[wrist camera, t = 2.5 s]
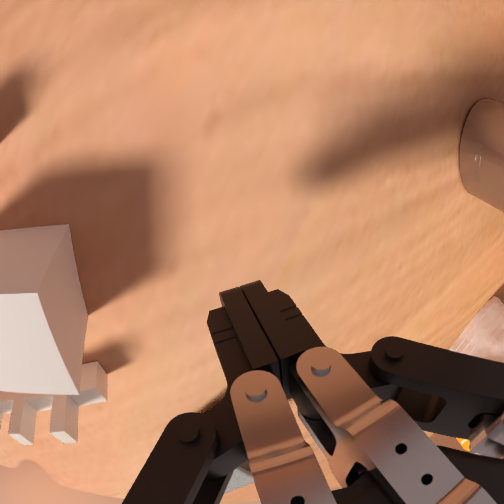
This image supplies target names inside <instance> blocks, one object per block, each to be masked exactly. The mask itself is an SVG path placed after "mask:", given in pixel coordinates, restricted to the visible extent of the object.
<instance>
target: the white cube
mask: <svg viewBox="0 0 504 504" xmlns="http://www.w3.org/2000/svg"><path fill="white" fill-rule="evenodd" d="M87 320H88V313H87V309H86V305H85V302H84V298H83V293H82V289H81V285H80V281H79V276H78V271H77V266H76V261H75V256H74V251H73V245H72V239H71V233H70V227H69V224H64V225H52V226H41V227H30V228H19V229H10V230H0V391H5V392H17V393H32V394H57V395H79V393H80V379H81V368H82V358H83V349H84V341H85V334H86V327H87Z"/></svg>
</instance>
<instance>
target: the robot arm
mask: <svg viewBox="0 0 504 504" xmlns="http://www.w3.org/2000/svg"><path fill="white" fill-rule="evenodd" d="M459 165H460V174H461V179H462V182H463V185H464V187H465V189H466V190H467V191H468V193H470V194H472V195H473V196H475V197H477V198H479V199H481V200H483V201H485V202H486V203H488V204H490V205H492V206H494V207H495V208H497V209H499V210H501V211H502V212H504V103H502V102H498V101H494V100H490V99H482V100H480V101H478V102H477V103H476V104H475V105H474V107H473V108H472V109H471V111H470V113H469V115H468V117H467V119H466V122H465V125H464V128H463V133H462V137H461V144H460V154H459ZM219 295H220V300H221V304H222V307H221V308H217V309H214V310H211V311H209V315H208V320H207V324H208V327H209V331H210V334H211V337H212V340H213V343H214V346H215V349H216V352H217V355H218V358H219V360H220V363H221V366H222V369H223V372H224V374H225V377H226V380H227V385H228V386H227V391H226V394H225V396H224V398H223V399H222V401H221V402H220V403H219V404H218V405H216V406H215V407H214V408H212V409H211V410H209V411H207V412H206V413H204V414H203V415H202V414H199V413H193V412H190V413H183V414H180V415H178V416H176V417H175V418H173V419H172V420H171V421H170V422H169V423H168V425H167V426H166V428H165V430H164V431H163V433H162V435H161V437H160V438H159V440H158V442H157V444H156V445H155V447H154V449H153V451H152V452H151V454H150V456H149V458H148V459H147V461H146V463H145V464H144V466H143V468H142V470H141V471H140V473H139V475H138V477H137V478H136V480H135V482H134V484H133V485H132V487H131V489H130V490H129V492H128V494H127V496H126V497H125V499H124V501H123V502H122V504H219V503H220V501H221V499H222V496H223V494H224V492H225V490H226V488H227V485H228V483H229V481H230V479H231V476H232V474H233V472H234V470H235V469H236V468H237V467H239V466H240V465H242V464H243V463H245V462H246V461H247V460H249V466H250V469H251V473H252V476H253V479H254V482H255V486H256V489H257V492H258V495H259V498H260V501H261V503H262V504H504V363H502V362H498V361H493V360H489V359H484V358H480V357H476V356H471V355H467V354H463V353H459V352H454V351H450V350H446V349H442V348H438V347H434V346H430V345H426V344H422V343H419V342H415V341H411V340H407V339H403V338H399V337H393V336H391V337H385V338H382V339H380V340H378V341H377V342H376V343H375V344H374V346H373V347H372V351H367V352H361V353H355V354H341V353H339V352H337V351H336V350H334V349H332V348H328V347H326V346H325V345H324V344H323V342H322V341H321V340H320V338H319V337H318V335H317V334H316V333H315V331H314V330H313V328H312V327H311V326H310V324H309V323H308V321H307V320H306V319H305V317H304V316H303V315H302V313H301V312H300V310H299V309H298V307H296V305H295V303H294V302H293V300H292V299H291V298H290V296H289V295H287V294H285V293H284V292H282V291H280V290H278V289H277V290H274V291H271V292H267V290H266V288H265V287H264V285H263V284H262V282H261V281H260V280H258V281H255V282H252V283H249V284H245V285H242V286H240V287H236V288H233V289H229V290H226V291H223V292H220V293H219ZM290 398H293V400H294V401H295V403H296V405H297V409H298V416H299V418H300V419H301V421H302V422H303V424H304V425H305V427H306V428H307V430H308V431H309V433H310V434H311V436H312V437H313V439H314V440H315V442H316V443H317V445H318V446H319V448H320V449H321V451H322V452H323V454H324V455H325V457H326V458H327V460H328V462H329V466H330V469H331V471H332V473H333V475H334V476H335V478H336V479H337V481H338V482H339V484H340V485H341V486H342V489H338V490H334V491H331V490H330V488H329V486H328V483H327V481H326V479H325V477H324V474H323V472H322V470H321V468H320V465H319V463H318V461H317V458H316V456H315V454H314V452H313V450H312V448H311V447H310V445H309V444H308V443H306V442H305V440H304V438H303V436H302V434H301V431H300V429H299V426H298V424H297V422H296V419H295V417H294V415H293V412H292V410H291V407H290V405H289V403H288V399H290ZM423 430H424V431H429V432H433V433H437V434H441V435H446V436H451V437H455V438H460V439H466V440H469V441H470V444H469V450H470V451H471V452H472V453H469V452H465V451H460V450H456V449H452V448H448V447H443V446H436V445H435V444H434V443H433V442H432V440H431V439H430V438H429V437H428V436H427V435H426V434H425V433H424V431H423ZM474 453H478V454H474ZM479 454H480V455H479Z"/></svg>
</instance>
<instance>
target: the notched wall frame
mask: <svg viewBox="0 0 504 504" xmlns="http://www.w3.org/2000/svg"><path fill="white" fill-rule="evenodd" d="M101 402H107V374H106V372H105V371H104V369H103V368H102V367H101V365H100V364H99V362H98V361H96V362H91V363H86V364H82V368H81V379H80V393H79V395H57V394H32V393H17V392H5V391H0V428H1V422H2V416H3V413H11V417H10V424H9V431H8V434H9V435H10V436H11V437H13V438H14V439H15V440H16V441H18V442H19V443H20V444H22V445H34V433H35V423H36V414H37V411H42V410H51V409H52V410H51V421H50V433H51V434H52V435H53V436H55V437H56V438H57V439H58V440H60V441H61V442H62V443H77V442H78V406H82V405H88V404H95V403H101Z"/></svg>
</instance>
